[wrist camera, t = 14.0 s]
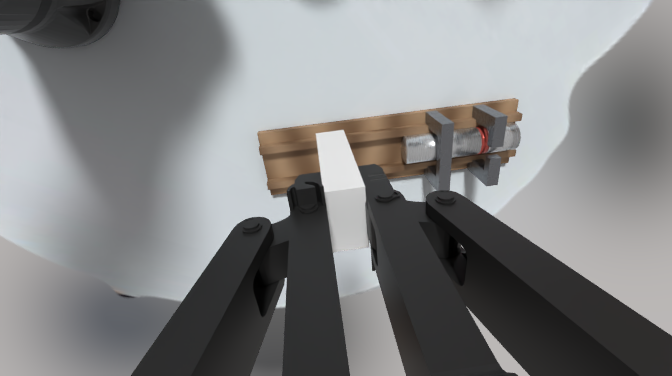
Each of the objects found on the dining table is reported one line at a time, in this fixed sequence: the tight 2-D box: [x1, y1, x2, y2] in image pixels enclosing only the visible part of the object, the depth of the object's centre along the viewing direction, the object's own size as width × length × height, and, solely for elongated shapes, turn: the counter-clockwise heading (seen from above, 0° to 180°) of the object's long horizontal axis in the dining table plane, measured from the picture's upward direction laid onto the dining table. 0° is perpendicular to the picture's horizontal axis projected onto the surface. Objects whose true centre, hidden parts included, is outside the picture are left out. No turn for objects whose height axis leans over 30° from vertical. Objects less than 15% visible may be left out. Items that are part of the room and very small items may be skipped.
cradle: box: [257, 98, 522, 195], centre depth 49 cm, size 38×10×2 cm, turn 96°
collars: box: [424, 104, 508, 191], centre depth 46 cm, size 9×10×6 cm
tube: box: [401, 122, 521, 164], centre depth 47 cm, size 16×4×4 cm, turn 96°
